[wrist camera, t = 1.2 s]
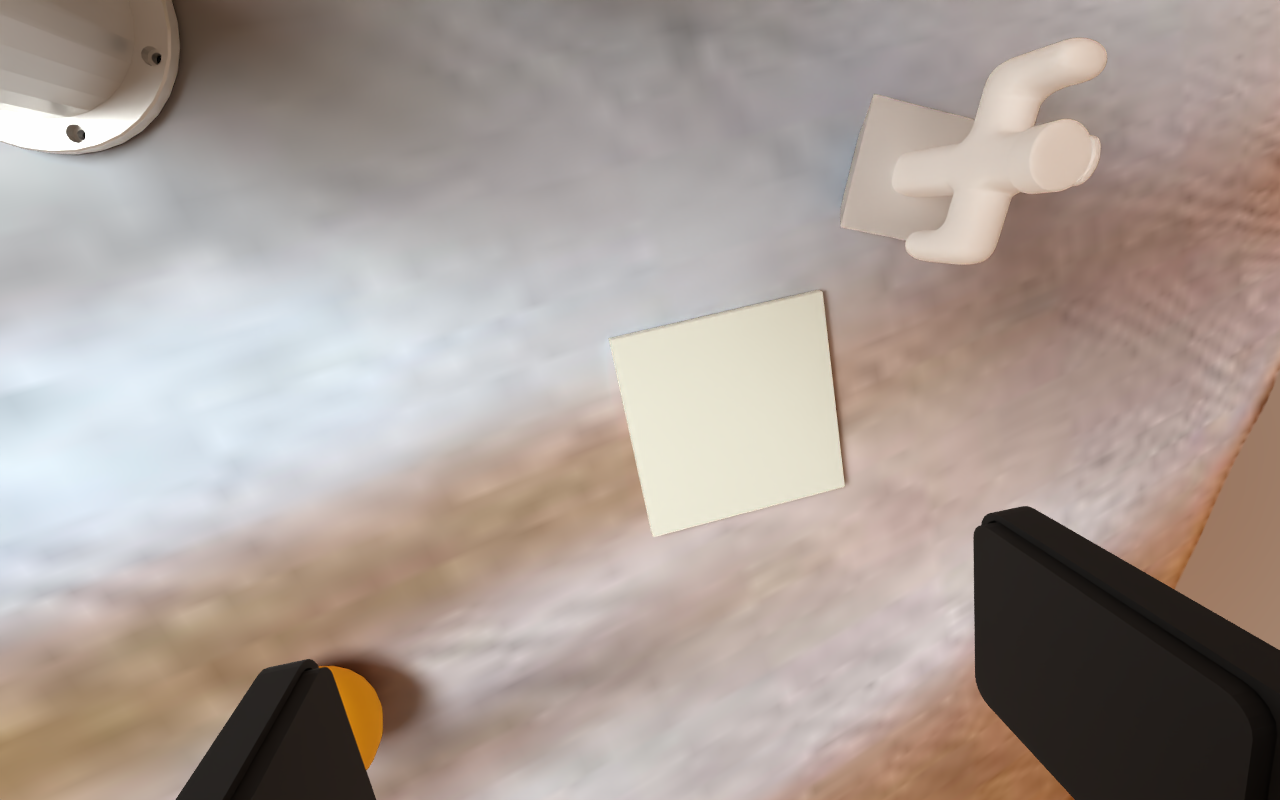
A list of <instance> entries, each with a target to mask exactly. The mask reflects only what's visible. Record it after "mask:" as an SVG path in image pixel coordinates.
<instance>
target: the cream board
mask: <svg viewBox="0 0 1280 800" xmlns="http://www.w3.org/2000/svg"><path fill="white" fill-rule="evenodd" d="M609 343H610V347H611V352H612V356H613V361H614V366H615V370H616V375H617V379H618V384H619V388H620V393H621V397H622V402H623V406H624V411H625V415H626V420H627V424H628V429H629V433H630V438H631V443H632V447H633V452H634V456H635V461H636V465H637V470H638V474H639V479H640V483H641V488H642V492H643V497H644V501H645V506H646V510H647V515H648V520H649V524H650V529H651V533H652V535H653V537H656V536H660V535H664V534H667V533H671V532H675V531H679V530H683V529H686V528H690V527H694V526H698V525H702V524H705V523H709V522H713V521H717V520H720V519H724V518H728V517H732V516H736V515H739V514H743V513H747V512H751V511H755V510H758V509H762V508H766V507H770V506H774V505H777V504H781V503H785V502H789V501H792V500H796V499H800V498H804V497H808V496H811V495H815V494H819V493H823V492H827V491H830V490H834V489H838V488H842V487H845V484H844V475H843V466H842V458H841V449H840V440H839V432H838V423H837V414H836V405H835V397H834V388H833V379H832V370H831V362H830V353H829V344H828V336H827V327H826V318H825V309H824V301H823V292H822V291H819V290H815V291H810V292H806V293H802V294H798V295H793V296H789V297H785V298H780V299H776V300H772V301H767V302H763V303H759V304H754V305H750V306H746V307H742V308H737V309H733V310H729V311H724V312H720V313H716V314H711V315H707V316H703V317H698V318H694V319H690V320H686V321H681V322H677V323H673V324H668V325H664V326H660V327H655V328H651V329H647V330H642V331H638V332H634V333H630V334H625V335H621V336H617V337H612V338H609Z"/></svg>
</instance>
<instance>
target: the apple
mask: <svg viewBox="0 0 1280 800" xmlns="http://www.w3.org/2000/svg"><path fill="white" fill-rule="evenodd" d="M318 667H319V668H322V667H328V668H329V669H330V670H331V672H332V674H333V676H334V679H335V682H336V685H337V687H338V690H339V693H340V696H341V699H342V702H343V705H344V708H345V711H346V714H347V717H348V719H349V722H350V725H351V728H352V731H353V734H354V737H355V740H356V743H357V746H358V749H359V751H360V754H361V757H362V760H363V763H364V766H365V769H366V770H367V769H368V768H369V766H370V765H371V763H372V762H373V760H374V757H375V755H376V752H377V749H378V746H379V744H380V741H381V738H382V733H383V713H382V706H381V703H380V700H379V698H378V696H377V693H376V691H375V689H374V688H373V687H372V686H371V685H370V684H369V683H368V682H367V681H366V679H365V678H364V677H363V676H361V675H359V674H357V673H355V672H353V671H351V670H350V669H346V668H341V667H336V666H318Z"/></svg>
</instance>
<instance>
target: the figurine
mask: <svg viewBox="0 0 1280 800" xmlns="http://www.w3.org/2000/svg"><path fill="white" fill-rule="evenodd" d="M1106 62H1107V53H1106V50H1105V48H1104V47H1103V46H1102V45H1101V44H1100V43H1098V42H1097V41H1094V40H1092V39H1088V38H1072V39H1067V40H1063V41H1060V42H1058V43H1055V44H1052V45H1049V46H1046V47H1043V48H1040V49H1037V50H1034V51H1031V52H1028V53H1025V54H1022V55H1019V56H1017V57H1014V58H1012V59H1009V60H1007V61H1005V62H1004V63H1002V64H1000V65H999V66H998V67H997V68H996V69H994V71H993V72H992V73H991V74H990V76H989V77H988V79H987V81H986V84H985V87H984V90H983V93H982V97H981V100H980V104H979V107H978V111H977V114H976V117H975V120H974V119H971V118H967V117H963V116H959V115H955V114H951V113H947V112H943V111H939V110H935V109H931V108H928V107H924V106H920V105H916V104H912V103H908V102H904V101H900V100H896V99H892V98H889V97H885V96H881V95H877V94H874V95H873V98H872V101H871V103H870V106H869V109H868V111H867V114H866V117H865V120H864V122H863V125H862V128H861V130H860V133H859V136H858V140H857V144H856V148H855V152H854V156H853V160H852V164H851V168H850V172H849V176H848V180H847V184H846V188H845V192H844V196H843V200H842V204H841V219H840V227H842V228H847V229H852V230H856V231H861V232H866V233H871V234H876V235H880V236H885V237H890V238H895V239H900V240H905V241H906V243H905V248H906V251H907V253H908V254H909V255H910V256H912V257H913V258H915V259H918V260H922V261H928V262H938V263H947V264H958V265H970V264H976V263H980V262H983V261H985V260H986V259H988V258H989V257H990V256H991V255H992V253H993V252H994V250H995V248H996V246H997V243H998V240H999V237H1000V234H1001V231H1002V227H1003V224H1004V221H1005V218H1006V215H1007V211H1008V208H1009V205H1010V202H1011V199H1012V197H1013V196H1015V195H1016V194H1018V193H1020V192H1023V193H1026V194H1039V193H1049V192H1059V191H1063V190H1066V189H1068V188H1070V187H1071V186H1078V185H1081V184H1083V183H1084V182H1085V181H1086V180H1087V179H1089V178H1090V177H1091V175H1092V174H1093V172H1094V170H1095V169H1096V167H1097V165H1098V162H1099V158H1100V151H1101V144H1100V140H1099V139H1098V138H1097V137H1096V136H1092V135H1089V133H1088V131H1087V129H1086V128H1085V127H1084V126H1083V125H1082V124H1081V123H1079V122H1078V121H1075V120H1072V119H1060V120H1057V121H1053V122H1049V123H1045V124H1041V125H1037V126H1034V125H1035V121H1036V118H1037V115H1038V112H1039V109H1040V106H1041V104H1042V102H1043V101H1044V100H1045V99H1046V98H1047V97H1048V96H1050V95H1051V94H1052V93H1054V92H1056V91H1058V90H1060V89H1062V88H1065V87H1068V86H1071V85H1075V84H1079V83H1083V82H1086V81H1088V80H1091V79H1093V78H1094V77H1096V76H1097V75H1099V74H1100V73H1101V72H1102V70H1103V69H1104V67H1105V65H1106Z"/></svg>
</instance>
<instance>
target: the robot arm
mask: <svg viewBox="0 0 1280 800" xmlns="http://www.w3.org/2000/svg"><path fill="white" fill-rule="evenodd" d="M179 54H180V41H179V31H178V21H177V17H176V14H175V10H174V7H173V3H172V0H0V142H3V143H6V144H9V145H13V146H16V147H19V148H22V149H27V150H33V151H40V152H46V153H57V154H83V153H90V152H97V151H102V150H105V149H108V148H111V147H113V146H116V145H119V144H122V143H124V142H126V141H127V140H129V139H130V138H132V137H134V136H135V135H137V134H138V133H140V132H141V131H143V130H144V129H145V128H146V127H147V126H148V125H149V124H150V123H151V122H152V121H153V120H154V119H155V118H156V117H157V116H158V115H159V113H160V111H161V110H162V108H163V106H164V105H165V103H166V101H167V100H168V98H169V96H170V94H171V91H172V88H173V85H174V82H175V79H176V76H177V73H178V63H179ZM159 55H161V61H160V63H159V64H158V63H157V57H158V56H159ZM84 132H85V134H86V138H85V139H84V137H83V133H84ZM974 614H975V678H976V683H977V686H978V689H979V691H980V694H981V696H982V697H983V699H984V701H985V702H986V703H987V704H988V706H989V707H990V708H991V709H992V710H993V711H994V712H995V713H996V714H997V715H998V717H999V718H1000V719H1001V720H1002V721H1003V722H1004V723H1005V724H1006V725H1007V726H1008V727H1009V728H1010V730H1011V731H1012V732H1013V733H1014V734H1015V735H1016V736H1017V737H1018V738H1019V739H1020V740H1021V742H1022V743H1023V744H1024V745H1025V746H1026V747H1027V748H1028V749H1029V750H1030V751H1031V752H1032V753H1033V755H1034V756H1035V757H1036V758H1037V759H1038V760H1039V761H1040V762H1041V763H1042V764H1043V765H1044V767H1045V768H1046V769H1047V770H1048V771H1049V772H1050V773H1051V774H1052V775H1053V776H1054V777H1055V778H1056V780H1057V781H1058V782H1059V783H1060V784H1061V785H1062V786H1063V787H1064V788H1065V789H1066V790H1067V792H1068V793H1069V794H1070V795H1071V796H1072V797H1073V798H1074V799H1075V800H1280V650H1278V649H1276V648H1275V647H1273V646H1271V645H1269V644H1268V643H1266V642H1264V641H1263V640H1261V639H1259V638H1257V637H1256V636H1254V635H1252V634H1250V633H1249V632H1247V631H1245V630H1243V629H1242V628H1240V627H1238V626H1237V625H1235V624H1233V623H1231V622H1230V621H1228V620H1226V619H1224V618H1223V617H1221V616H1219V615H1217V614H1216V613H1214V612H1212V611H1210V610H1209V609H1207V608H1205V607H1203V606H1202V605H1200V604H1198V603H1197V602H1195V601H1193V600H1191V599H1189V598H1188V597H1186V596H1184V595H1183V594H1181V593H1179V592H1177V591H1176V590H1174V589H1172V588H1171V587H1169V586H1167V585H1165V584H1164V583H1162V582H1160V581H1158V580H1157V579H1155V578H1153V577H1152V576H1150V575H1148V574H1146V573H1145V572H1143V571H1141V570H1139V569H1138V568H1136V567H1134V566H1132V565H1131V564H1129V563H1127V562H1125V561H1124V560H1122V559H1120V558H1119V557H1117V556H1115V555H1113V554H1112V553H1110V552H1108V551H1106V550H1105V549H1103V548H1101V547H1099V546H1098V545H1096V544H1094V543H1092V542H1091V541H1089V540H1087V539H1086V538H1084V537H1082V536H1080V535H1079V534H1077V533H1075V532H1073V531H1072V530H1070V529H1068V528H1066V527H1065V526H1063V525H1061V524H1060V523H1058V522H1056V521H1054V520H1053V519H1051V518H1049V517H1047V516H1046V515H1044V514H1042V513H1040V512H1039V511H1037V510H1035V509H1033V508H1031V507H1028V506H1023V507H1017V508H1013V509H1008V510H1003V511H999V512H994V513H989V514H987V515H986V516H985V517H984V518H983V521H982V525H981V526H978V527H977V528H976V529H975V531H974ZM176 800H376V798H375V795H374V792H373V789H372V786H371V783H370V780H369V778H368V775H367V772H366V769H365V766H364V763H363V760H362V757H361V754H360V751H359V749H358V746H357V743H356V740H355V737H354V734H353V731H352V728H351V725H350V722H349V719H348V717H347V714H346V711H345V708H344V705H343V702H342V699H341V696H340V693H339V690H338V687H337V685H336V682H335V679H334V676H333V674H332V672H331V670H330V669H329V668H328V667H322V668H319V667H318V665H317V664H316V663H315V662H314V661H313V660H311V659H306V660H302V661H297V662H292V663H288V664H283V665H278V666H274V667H269V668H266V669H264V670H262V671H261V672H260V674H259V675H258V676H257V678H256V679H255V681H254V682H253V684H252V685H251V687H250V688H249V690H248V691H247V693H246V694H245V696H244V697H243V699H242V700H241V702H240V703H239V705H238V706H237V708H236V709H235V711H234V712H233V714H232V715H231V717H230V718H229V720H228V721H227V723H226V724H225V726H224V727H223V729H222V730H221V732H220V733H219V735H218V736H217V738H216V739H215V741H214V742H213V744H212V745H211V747H210V749H209V750H208V752H207V753H206V755H205V756H204V758H203V759H202V761H201V762H200V764H199V765H198V767H197V768H196V770H195V771H194V773H193V774H192V776H191V777H190V779H189V780H188V782H187V783H186V785H185V786H184V788H183V789H182V791H181V792H180V794H179V795H178V797H177V798H176Z"/></svg>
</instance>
